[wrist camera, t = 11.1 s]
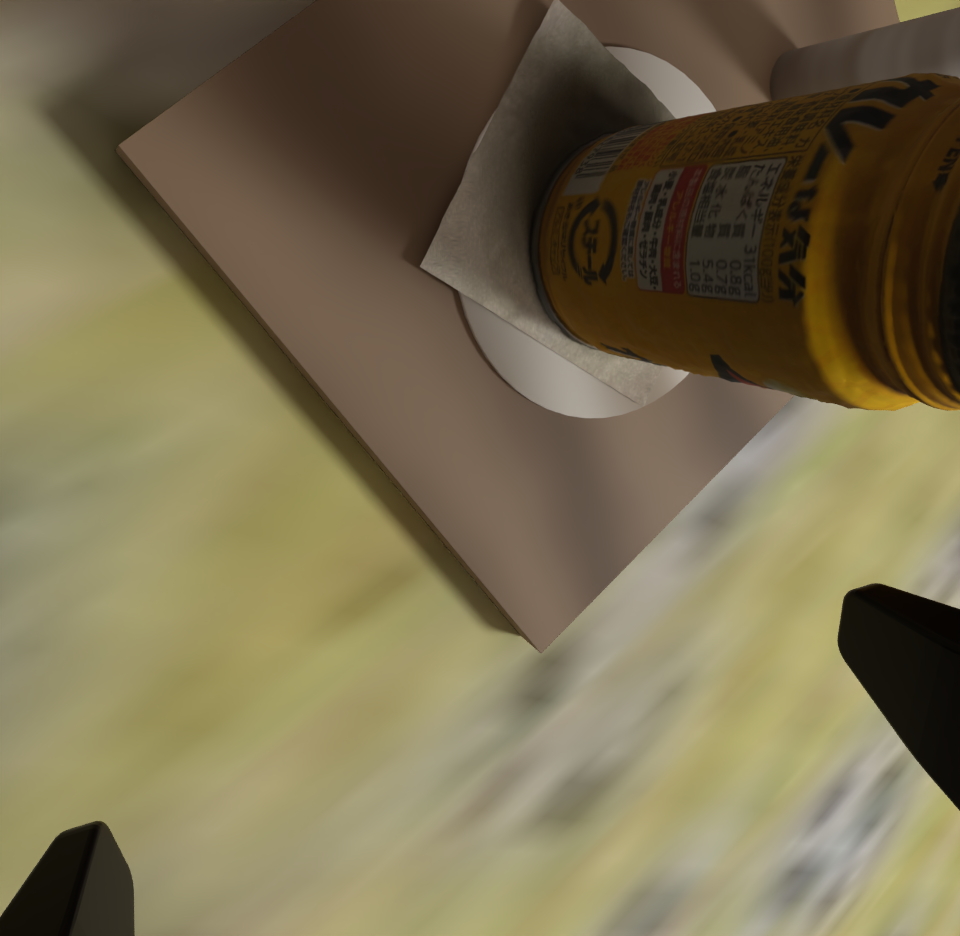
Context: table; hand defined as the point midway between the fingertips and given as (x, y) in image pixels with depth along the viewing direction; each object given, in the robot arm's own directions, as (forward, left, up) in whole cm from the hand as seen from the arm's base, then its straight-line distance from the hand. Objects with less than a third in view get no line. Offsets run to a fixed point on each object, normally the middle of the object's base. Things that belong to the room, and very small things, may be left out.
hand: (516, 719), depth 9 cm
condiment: (+11, -1, -12) cm, 16 cm away
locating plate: (+13, -2, -13) cm, 19 cm away
